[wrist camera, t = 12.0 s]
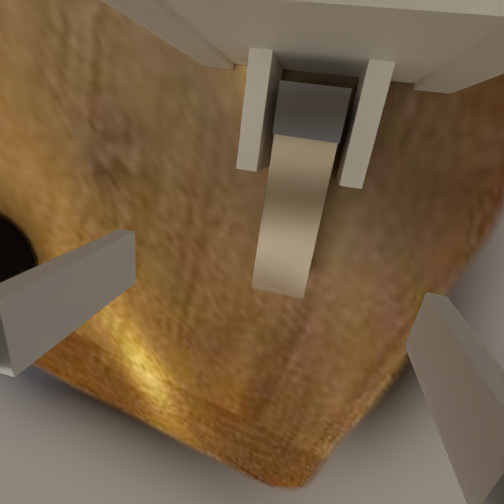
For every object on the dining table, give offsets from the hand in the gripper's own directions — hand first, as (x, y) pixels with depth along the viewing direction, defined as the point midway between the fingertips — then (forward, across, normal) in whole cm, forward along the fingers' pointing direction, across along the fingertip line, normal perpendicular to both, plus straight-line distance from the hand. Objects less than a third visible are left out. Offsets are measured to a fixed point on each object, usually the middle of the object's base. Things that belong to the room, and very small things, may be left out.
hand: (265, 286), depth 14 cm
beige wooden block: (+13, 0, +2) cm, 14 cm away
